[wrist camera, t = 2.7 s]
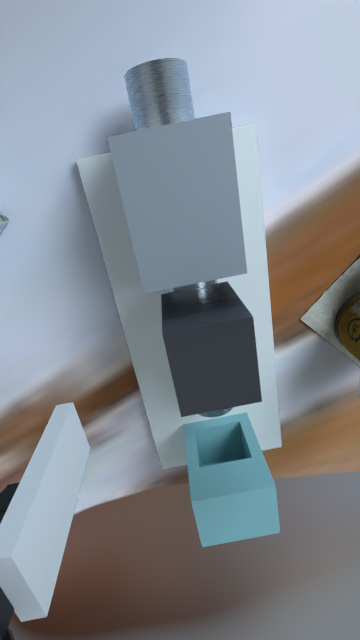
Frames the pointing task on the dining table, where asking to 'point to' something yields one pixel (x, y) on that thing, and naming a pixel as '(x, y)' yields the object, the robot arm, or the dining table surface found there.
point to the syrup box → (3, 222)
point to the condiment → (339, 314)
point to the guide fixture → (185, 269)
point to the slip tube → (201, 298)
